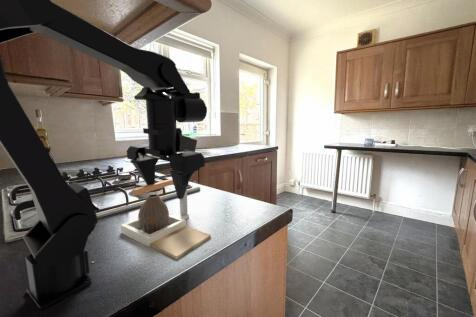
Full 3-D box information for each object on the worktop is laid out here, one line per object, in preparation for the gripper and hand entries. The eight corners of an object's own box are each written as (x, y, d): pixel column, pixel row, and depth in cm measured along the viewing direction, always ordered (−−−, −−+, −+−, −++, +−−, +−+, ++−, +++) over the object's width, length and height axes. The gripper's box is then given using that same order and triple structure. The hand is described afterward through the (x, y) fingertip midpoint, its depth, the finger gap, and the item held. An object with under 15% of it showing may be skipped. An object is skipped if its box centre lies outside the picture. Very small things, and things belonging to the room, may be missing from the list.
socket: (148, 246, 45) (146, 200, 44) (121, 232, 51) (118, 191, 50) (200, 220, 59) (199, 183, 57) (173, 211, 64) (172, 177, 63)
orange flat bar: (139, 195, 46) (138, 190, 46) (130, 193, 47) (130, 188, 47) (190, 180, 60) (190, 175, 59) (182, 178, 61) (182, 174, 61)
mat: (176, 259, 41) (176, 256, 41) (144, 243, 47) (144, 241, 47) (210, 237, 50) (210, 234, 50) (180, 226, 55) (180, 223, 55)
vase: (169, 235, 51) (168, 198, 49) (137, 239, 48) (135, 201, 47) (169, 222, 57) (168, 190, 56) (140, 225, 55) (139, 192, 54)
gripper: (221, 124, 47) (220, 191, 51) (164, 120, 57) (166, 177, 60) (182, 127, 38) (185, 209, 41) (122, 121, 48) (128, 188, 51)
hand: (165, 193), depth 49 cm, fingers open, 9 cm apart
